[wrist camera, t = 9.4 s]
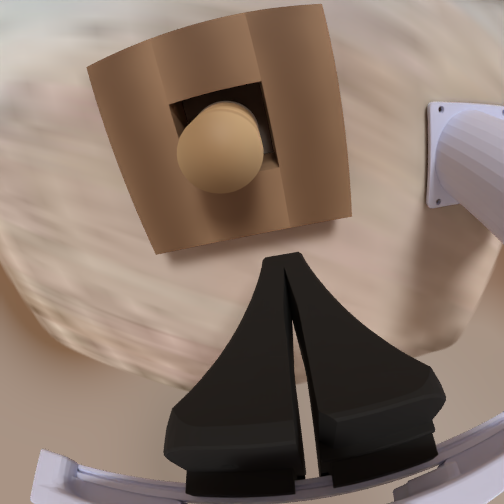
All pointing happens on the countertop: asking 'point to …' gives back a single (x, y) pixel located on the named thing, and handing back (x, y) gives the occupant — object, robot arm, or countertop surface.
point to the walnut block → (217, 78)
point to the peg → (221, 148)
